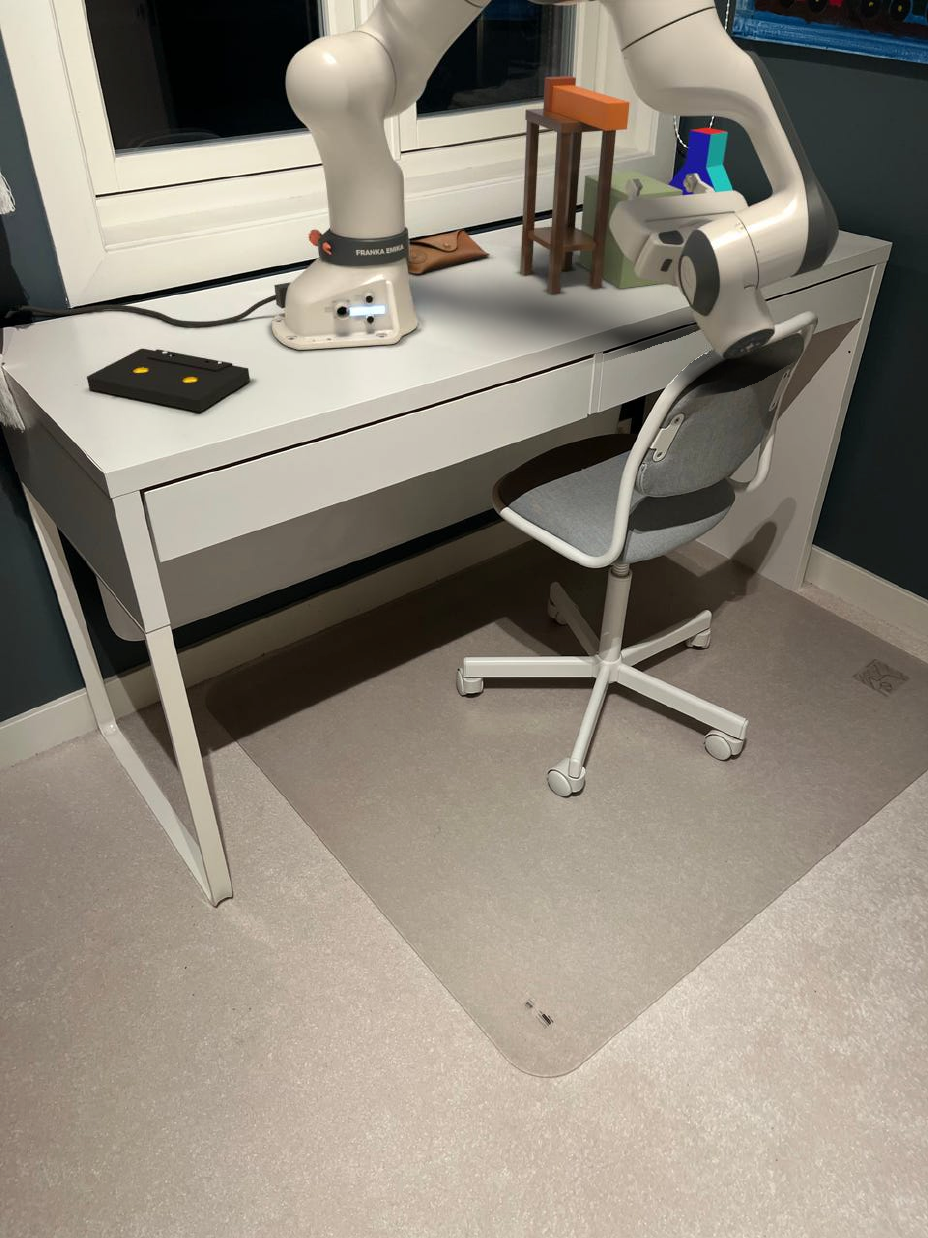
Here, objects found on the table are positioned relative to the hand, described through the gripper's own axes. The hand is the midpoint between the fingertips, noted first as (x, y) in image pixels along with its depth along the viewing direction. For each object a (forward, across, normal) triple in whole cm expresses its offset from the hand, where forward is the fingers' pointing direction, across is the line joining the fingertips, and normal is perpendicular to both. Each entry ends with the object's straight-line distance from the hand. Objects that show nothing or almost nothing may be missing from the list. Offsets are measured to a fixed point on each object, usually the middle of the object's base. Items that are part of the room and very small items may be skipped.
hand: (660, 179), depth 133 cm
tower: (+22, 0, +8) cm, 24 cm away
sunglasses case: (+28, +16, +42) cm, 53 cm away
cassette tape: (-7, +70, +22) cm, 74 cm away
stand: (+13, 0, +33) cm, 35 cm away
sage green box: (+13, -12, +33) cm, 37 cm away
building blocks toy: (+33, -34, +44) cm, 65 cm away
